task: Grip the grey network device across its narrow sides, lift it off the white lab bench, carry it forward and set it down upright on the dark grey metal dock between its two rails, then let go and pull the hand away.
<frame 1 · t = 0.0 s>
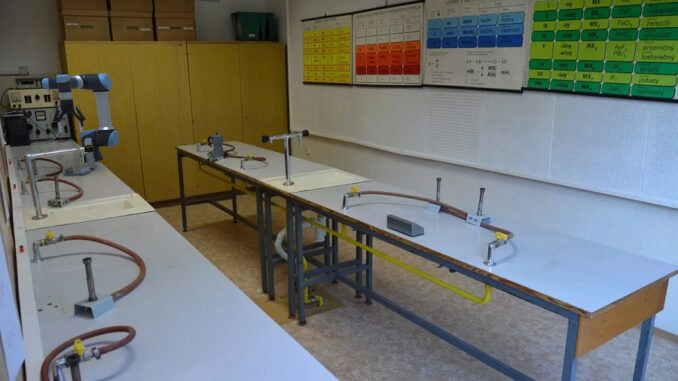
hand: (71, 131, 326), 28 cm above the lab bench, tool pointing down, fingers open, 13 cm apart
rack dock: (77, 174, 330), on the lab bench
coffeepot: (217, 155, 389), on the lab bench
network device: (92, 168, 351), on the lab bench
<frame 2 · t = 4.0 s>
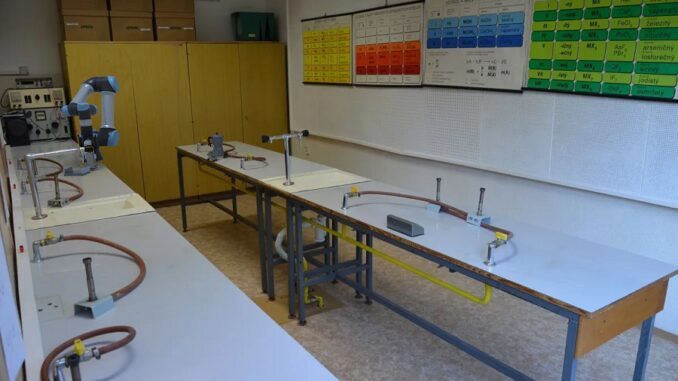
hand: (90, 158, 349), 7 cm above the lab bench, tool pointing down, fingers closed on network device, 5 cm apart
network device: (92, 168, 351), on the lab bench, touching gripper
everything else where it was.
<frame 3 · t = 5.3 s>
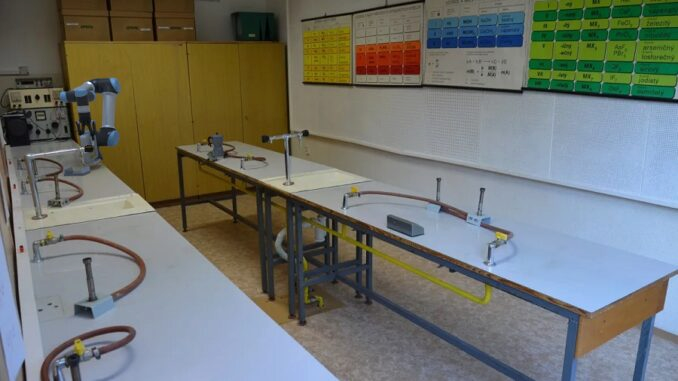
hand: (89, 145, 347), 16 cm above the lab bench, tool pointing down, fingers closed on network device, 4 cm apart
network device: (92, 162, 350), point 4 cm above the lab bench, touching gripper
everything else where it was.
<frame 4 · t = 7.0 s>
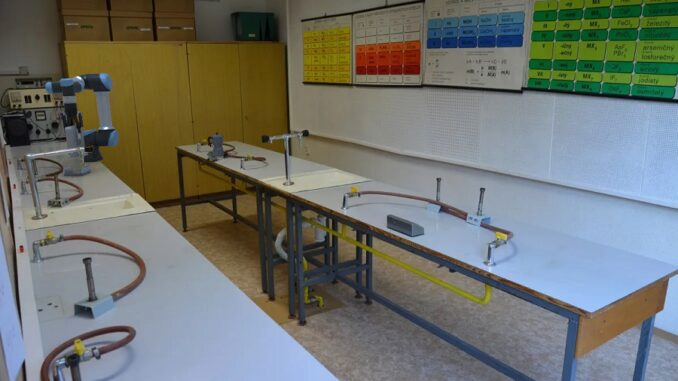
hand: (75, 138, 329), 23 cm above the lab bench, tool pointing down, fingers closed on network device, 4 cm apart
network device: (78, 156, 331), point 11 cm above the lab bench, touching gripper
everything else where it was.
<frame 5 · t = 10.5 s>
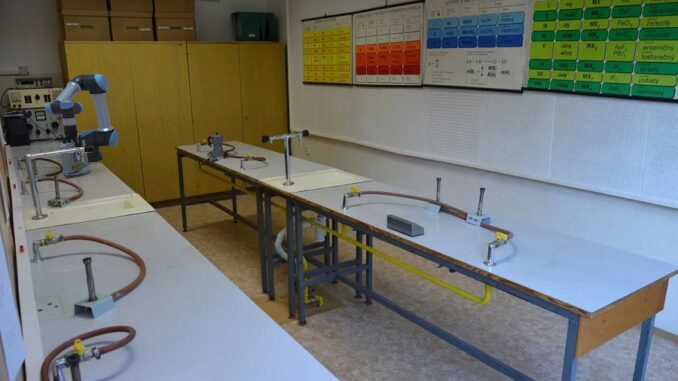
hand: (75, 160, 328), 10 cm above the lab bench, tool pointing down, fingers closed on network device, 4 cm apart
network device: (77, 172, 330), point 1 cm above the lab bench, touching gripper, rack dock
everything else where it was.
when the fingers open (10 cm above the lab bench, at t = 10.5 s): network device stays where it is, resting on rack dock.
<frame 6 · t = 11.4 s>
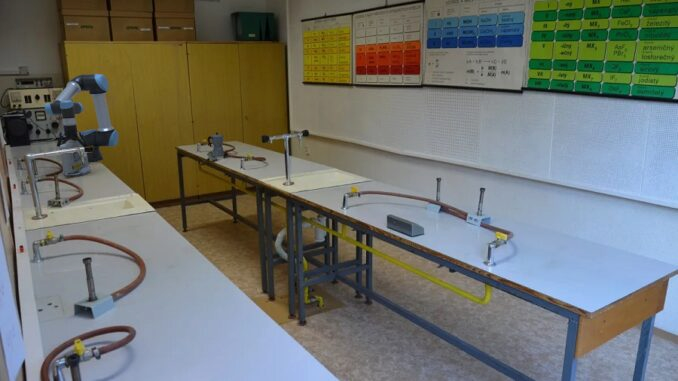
hand: (74, 156, 327), 12 cm above the lab bench, tool pointing down, fingers open, 13 cm apart
network device: (77, 172, 330), point 1 cm above the lab bench, touching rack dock
everything else where it was.
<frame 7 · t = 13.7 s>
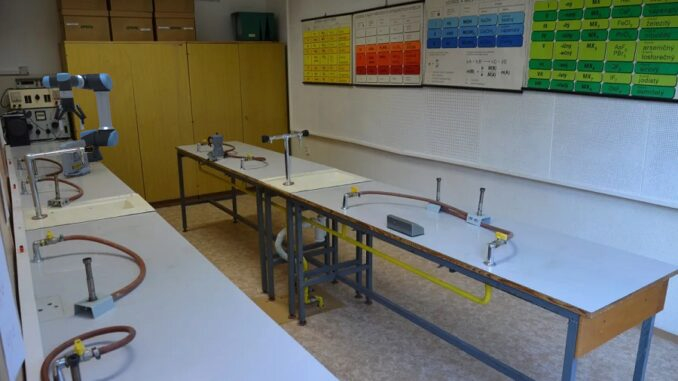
hand: (72, 129, 328), 29 cm above the lab bench, tool pointing down, fingers open, 13 cm apart
nothing on the lab bench moved.
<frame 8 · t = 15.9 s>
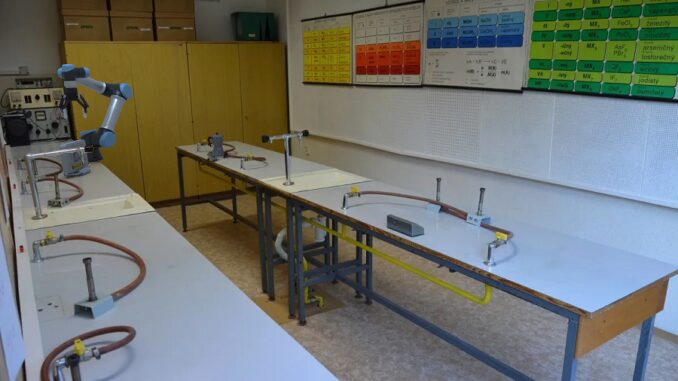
hand: (75, 118, 348), 35 cm above the lab bench, tool pointing down, fingers open, 13 cm apart
nothing on the lab bench moved.
at the end: network device 0.6 cm off-centre on the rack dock, point 1.3 cm above the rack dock's base; network device tilted 0°; the gripper is holding nothing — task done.
